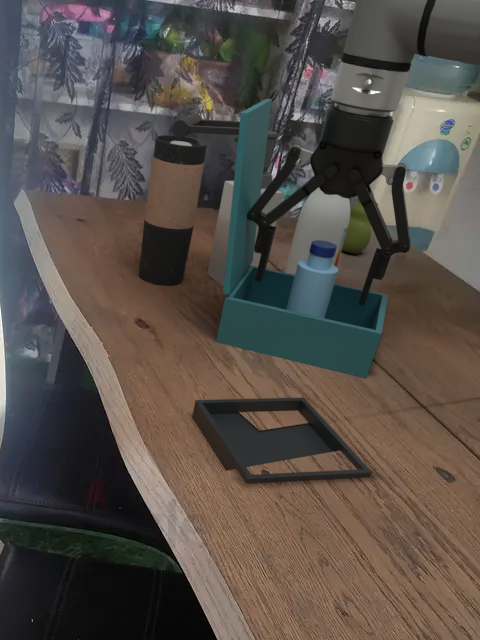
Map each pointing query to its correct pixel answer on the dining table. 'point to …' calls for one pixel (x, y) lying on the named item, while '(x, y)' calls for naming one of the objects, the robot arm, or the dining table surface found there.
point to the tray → (271, 438)
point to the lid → (238, 179)
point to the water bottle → (314, 281)
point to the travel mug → (171, 208)
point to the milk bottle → (319, 226)
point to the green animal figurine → (357, 230)
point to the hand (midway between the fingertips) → (309, 290)
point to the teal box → (303, 324)
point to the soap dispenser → (223, 222)
